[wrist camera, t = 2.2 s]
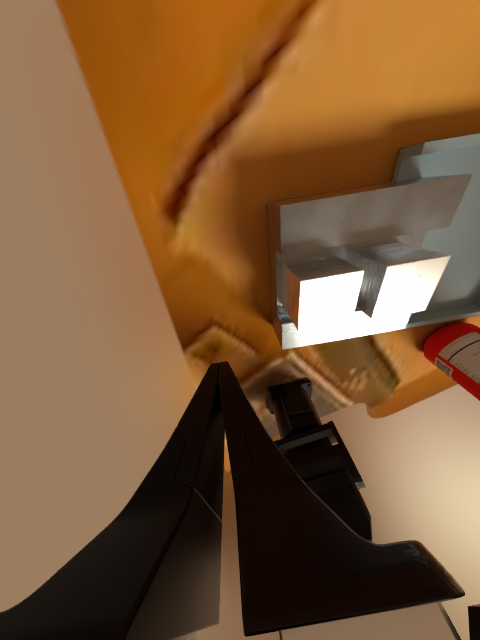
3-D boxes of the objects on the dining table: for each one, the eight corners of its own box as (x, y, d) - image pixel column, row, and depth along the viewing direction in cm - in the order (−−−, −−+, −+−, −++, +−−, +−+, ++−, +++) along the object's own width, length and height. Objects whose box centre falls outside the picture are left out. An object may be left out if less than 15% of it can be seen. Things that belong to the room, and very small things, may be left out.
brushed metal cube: (385, 287, 17) (424, 310, 14) (342, 295, 17) (371, 319, 14) (399, 242, 15) (451, 255, 12) (350, 250, 15) (387, 266, 12)
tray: (469, 305, 23) (489, 314, 21) (355, 325, 23) (366, 335, 21) (587, 117, 14) (637, 106, 12) (400, 148, 14) (424, 142, 12)
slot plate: (376, 307, 22) (404, 328, 18) (272, 325, 22) (282, 349, 18) (416, 178, 15) (473, 173, 12) (266, 203, 15) (280, 206, 12)
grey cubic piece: (325, 298, 17) (351, 322, 14) (282, 305, 17) (298, 331, 14) (331, 253, 15) (364, 270, 12) (282, 262, 15) (300, 281, 12)
